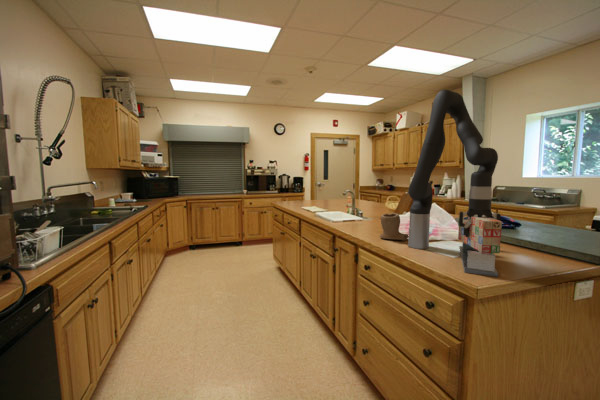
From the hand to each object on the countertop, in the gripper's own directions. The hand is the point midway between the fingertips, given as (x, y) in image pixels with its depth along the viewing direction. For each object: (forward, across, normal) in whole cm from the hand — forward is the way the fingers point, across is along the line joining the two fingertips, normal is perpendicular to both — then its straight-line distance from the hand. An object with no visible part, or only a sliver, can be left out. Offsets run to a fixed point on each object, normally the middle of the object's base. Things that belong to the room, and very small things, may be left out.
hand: (477, 237), depth 106 cm
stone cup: (+11, -37, +26) cm, 46 cm away
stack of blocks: (+4, 0, 0) cm, 4 cm away
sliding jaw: (+9, 0, +22) cm, 24 cm away
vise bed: (+11, 0, +3) cm, 11 cm away
